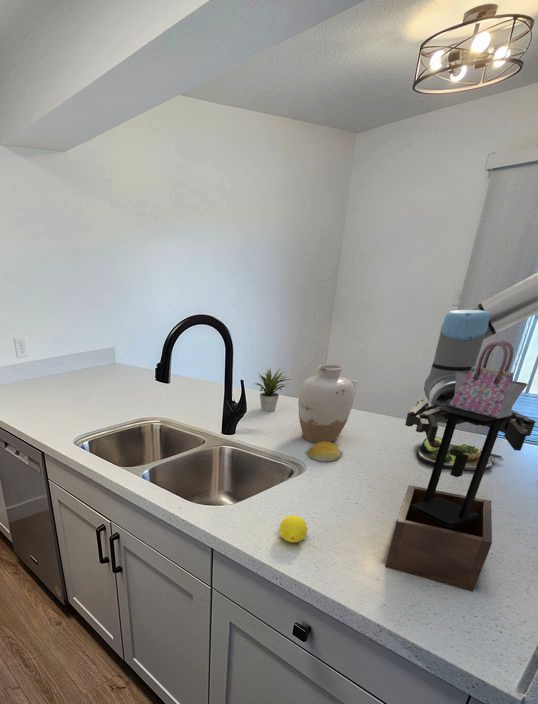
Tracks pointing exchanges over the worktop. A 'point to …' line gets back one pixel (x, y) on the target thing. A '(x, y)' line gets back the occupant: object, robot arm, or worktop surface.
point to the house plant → (270, 391)
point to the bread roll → (324, 451)
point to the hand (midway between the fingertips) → (475, 438)
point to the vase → (325, 404)
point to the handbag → (479, 408)
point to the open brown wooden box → (441, 542)
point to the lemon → (293, 528)
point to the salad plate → (450, 454)
